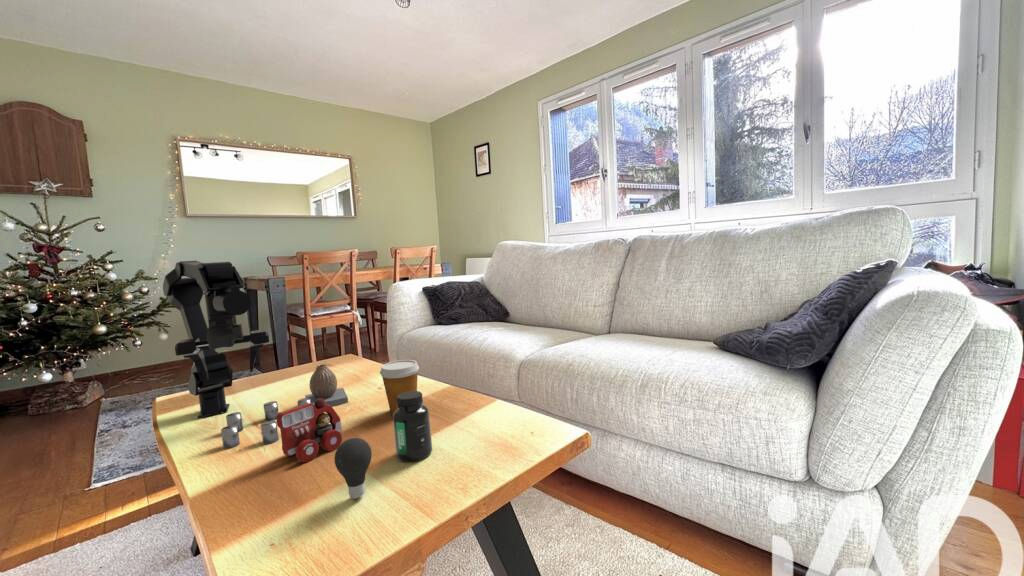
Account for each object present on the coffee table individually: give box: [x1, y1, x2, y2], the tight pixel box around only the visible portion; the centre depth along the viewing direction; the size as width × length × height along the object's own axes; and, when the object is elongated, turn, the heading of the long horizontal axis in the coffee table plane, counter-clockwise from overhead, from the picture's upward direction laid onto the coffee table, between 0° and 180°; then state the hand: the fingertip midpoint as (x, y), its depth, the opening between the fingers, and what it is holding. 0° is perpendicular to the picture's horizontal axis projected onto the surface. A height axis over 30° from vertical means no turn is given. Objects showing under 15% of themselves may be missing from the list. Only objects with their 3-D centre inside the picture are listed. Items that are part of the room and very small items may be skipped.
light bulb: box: [333, 437, 373, 501], centre depth 67 cm, size 6×6×10 cm
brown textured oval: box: [309, 363, 338, 399], centre depth 114 cm, size 7×7×9 cm
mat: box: [304, 387, 349, 407], centre depth 114 cm, size 10×10×2 cm
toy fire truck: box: [275, 398, 343, 463], centre depth 84 cm, size 7×12×10 cm, turn 145°
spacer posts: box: [220, 397, 311, 450], centre depth 97 cm, size 18×18×4 cm
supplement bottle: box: [392, 390, 433, 463], centre depth 80 cm, size 7×7×12 cm
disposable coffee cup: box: [379, 359, 420, 416], centre depth 103 cm, size 10×10×12 cm
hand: (229, 375), depth 102 cm, fingers open, 9 cm apart
